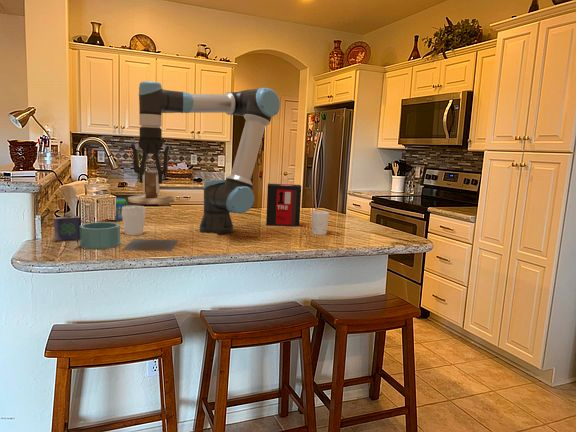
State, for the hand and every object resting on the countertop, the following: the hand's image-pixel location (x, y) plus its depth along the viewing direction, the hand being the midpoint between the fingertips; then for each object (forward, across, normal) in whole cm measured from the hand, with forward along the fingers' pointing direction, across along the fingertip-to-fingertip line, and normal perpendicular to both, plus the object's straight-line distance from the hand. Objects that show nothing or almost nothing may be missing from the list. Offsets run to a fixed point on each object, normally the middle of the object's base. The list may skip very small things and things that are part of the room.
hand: (151, 192), depth 155 cm
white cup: (+21, -69, -31) cm, 79 cm away
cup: (+21, +11, -19) cm, 30 cm away
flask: (+21, +33, -9) cm, 40 cm away
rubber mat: (+21, 0, 0) cm, 21 cm away
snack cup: (+21, +28, -52) cm, 63 cm away
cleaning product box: (+21, -54, -52) cm, 78 cm away
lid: (+3, 0, 0) cm, 3 cm away
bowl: (+21, +18, +1) cm, 27 cm away
